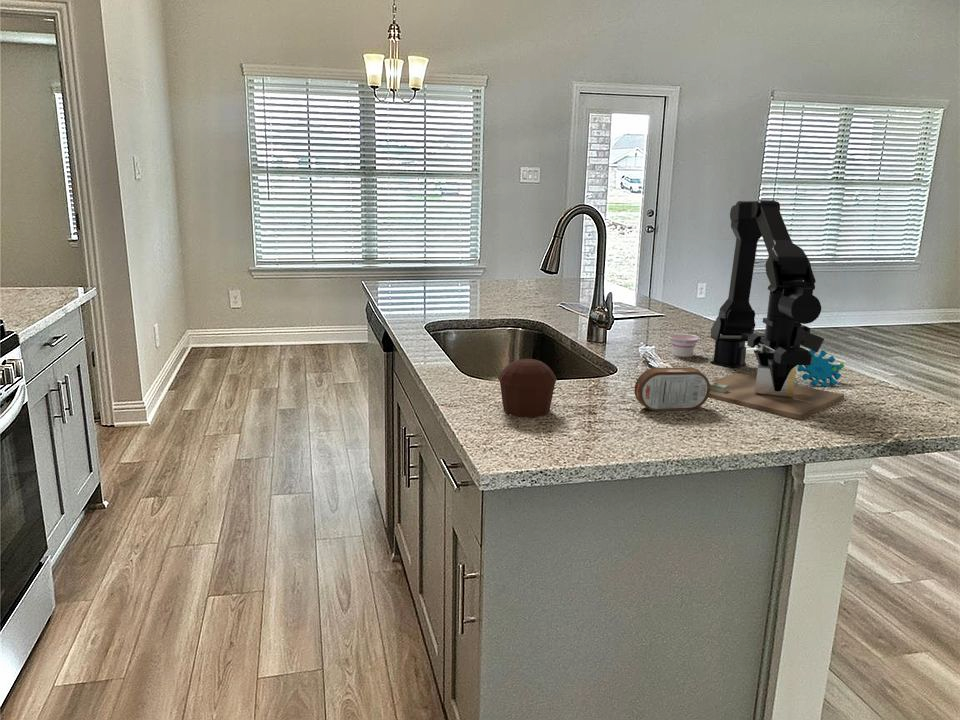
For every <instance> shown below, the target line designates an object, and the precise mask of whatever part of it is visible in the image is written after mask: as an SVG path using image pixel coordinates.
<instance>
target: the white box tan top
mask: <svg viewBox="0 0 960 720" xmlns="http://www.w3.org/2000/svg"><path fill="white" fill-rule="evenodd" d="M796 375H797V368H796V367H794V368H792V370H791V371H790V373H789V375H788V377H787V379H786V381H785V383H784V385H783V387H782V389H781V391H775V390H774V386H773V382H772V377H771V372H770V367H769V365H759V363H757V371H756V377H757V379H756V388H755V393H761V394H769V395H778V396H786V397H793V391H794V384H796Z"/></svg>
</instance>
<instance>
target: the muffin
mask: <svg viewBox="0 0 960 720" xmlns="http://www.w3.org/2000/svg"><path fill="white" fill-rule="evenodd" d="M555 374H556V373H554V371H553V370H552V368H550V366H548V364H546V363H544V362H543V361H541V360H538V359H534V358H522V359H517V360H514V361H512V362H511V363H509V364H507V365H506V366H505V367H504V368H503V369H502V371H501V372H500V373H499V375H498V376H497V380H498V381H499V385H500V386H499V387H500V393H501V400H502V408H503V410H504V411H505V412H506V414H507V415H510V414H511V415H510V416H514V417H518V418H533V419H535V418H539V417H544V416H546V415H547V414H548V413H549V412H550V411H551V406H552V400H553V396H554V390H555V385H556V382H557V380H558V378H557V377H556V375H555Z"/></svg>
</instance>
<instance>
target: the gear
mask: <svg viewBox="0 0 960 720" xmlns="http://www.w3.org/2000/svg"><path fill="white" fill-rule="evenodd" d="M808 351H809V352H810V353H811V354H812V355H813V358H812V365H797V366H796V367H797V368H796V372H798V373H799V372H805V373H803V374H802V375H801V378H802V379H803V380H804V381H807V380H809V379H808V378H811V379H812V378H814V379H813V380H811V382H810V385H811V386H813V385H814V386H813V387H817V385H818V384H819V381H822V383H820V386H821V387H822V386H826V387H825V388H828V387H829V386H831V385H834V386H835V385H837V383H838V380H839V379H840V378H841V377H842V374H841V373H839V371H841V370H842V369H843V368H845V364H844V363H839V364H832V363H834V362H835V361H836V358H835V357H834V356H832V355H831V356H830V357H828V358H823V357H825V356H827V351H825V350H823V349H822V350H820V351H819V352H818V354H819V355H818V356H816V355H815V354H816V353H817V352H815V351H813V350H811V349H809V350H808ZM828 380H829V384H828Z"/></svg>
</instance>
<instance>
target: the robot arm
mask: <svg viewBox="0 0 960 720" xmlns="http://www.w3.org/2000/svg"><path fill="white" fill-rule="evenodd" d="M729 219H730V227H731V230H732V233H733V234H734V237H735V246H734V252H733V253H734V254H733V259H732V268H731V276H730V285H729V290H728V298H727V299H726V300H725V302H723V304H722V306H720V308H719V311H718V316H717V317H716V318H715V321H714V323H713V325H712V326H711V328H710V338H711V339H712V340H713V341H715V343H714V354H713V360H710V361H709V362H710V363H709V364H713V365H717V366H721V367H728V368H732V369H733V368H734V369H735V368H738V367H741V366H744V365H743V364H745V365H746V364H747V363H746V355H747V347H746V346H748V347H749V348H751V349H753V348H754V350H753V354H755V357H756V360H757V362H758V363H757V364H759V365H769V367H770V372H771V377H772V382H773V386H774V390H775V391H781V389H782V387H783V385H784V383H785V381H786V379H787V377H788V375H789V373H790V371H791V370H792V368H796V367H798V366H799V365H802V366H804V365H812V358H813V355H812V354H811V353H810V352H809V351H810V349H811V350H813V351H815V352H816V353H819V352H820V349H821V347H822V345H823V343H824V342H825V338H824V337H821V336H819V335H816V334H814V333H812V332H811V328H810V327H809V326H808V325H807V326H806V324H810V323H813V322H814V321H816V320H817V319H818V318H819V316H820V315H821V312H822V305H821V301H820V300H819V299H818V297H817V296H815V295H814V294H813V293H814V290H815V289H816V285H815V283H816V277H815V275H814V272H813V269H812V266H811V262H810V260H809V258H808V256H807V254H806V253H805V251H804V250H803V248H801V247H800V246H798V245H796V244H795V243H794V242H793V240H792V238H791V236H790V233H789V230H788V228H787V226H786V223H785V222H784V221H785V220H784V219H783V216H782V213H781V205H780V202H779V201H777V200H773V199H771V200H770V199H758V200H756V201H755V200H754V201H753V200H738V201H737V202H736V203H735V204H734V205H732V206H731V208H730V213H729ZM760 238H761V239H762V240H763V242H764V245H765V248H766V250H767V255H768V257H767V259H766V262H765V265H764V266H765V273H766V276H767V280H768V281H769V285H768V287H767V290H768V291H769V295H768V306H767V313H766V317H763V318H762V324H765V331H764V332H763V333H761V332H755V328H756V322H755V321H756V320H755V319H756V312H755V310H753V308H752V306H751V304H750V297H751V296H750V295H751V288H752V283H753V275H754V269H755V264H756V263H755V262H756V254H757V248H758V242H759V240H760ZM746 342H747V344H746ZM756 346H757V350H755V347H756ZM801 346H802V347H801ZM807 349H809V350H807Z"/></svg>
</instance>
